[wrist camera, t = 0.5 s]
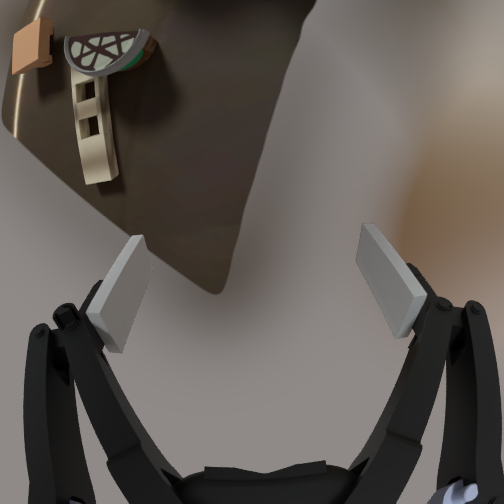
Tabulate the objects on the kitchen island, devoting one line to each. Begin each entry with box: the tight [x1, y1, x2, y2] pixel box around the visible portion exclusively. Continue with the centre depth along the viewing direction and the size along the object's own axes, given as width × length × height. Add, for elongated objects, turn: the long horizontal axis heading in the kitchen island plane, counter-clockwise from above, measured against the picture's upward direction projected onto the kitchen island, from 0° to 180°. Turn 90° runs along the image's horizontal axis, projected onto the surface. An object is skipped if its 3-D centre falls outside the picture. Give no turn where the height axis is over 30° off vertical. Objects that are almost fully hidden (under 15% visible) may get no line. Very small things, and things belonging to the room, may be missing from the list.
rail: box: [71, 66, 119, 184], centre depth 31 cm, size 24×5×3 cm, turn 2°
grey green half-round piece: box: [64, 29, 158, 77], centre depth 25 cm, size 12×6×10 cm, turn 76°
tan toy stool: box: [12, 17, 53, 75], centre depth 22 cm, size 8×6×6 cm
